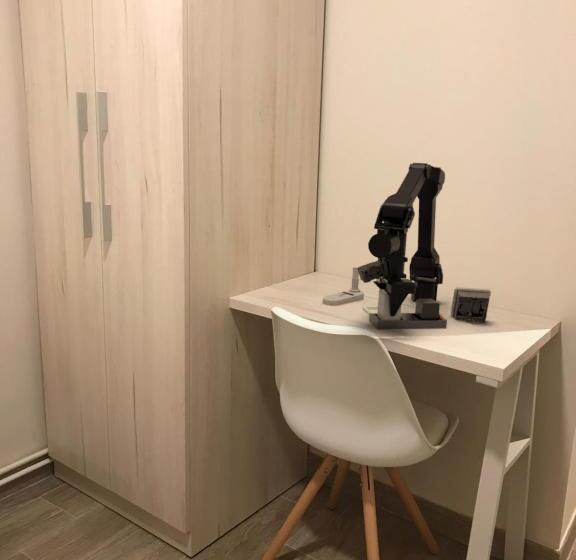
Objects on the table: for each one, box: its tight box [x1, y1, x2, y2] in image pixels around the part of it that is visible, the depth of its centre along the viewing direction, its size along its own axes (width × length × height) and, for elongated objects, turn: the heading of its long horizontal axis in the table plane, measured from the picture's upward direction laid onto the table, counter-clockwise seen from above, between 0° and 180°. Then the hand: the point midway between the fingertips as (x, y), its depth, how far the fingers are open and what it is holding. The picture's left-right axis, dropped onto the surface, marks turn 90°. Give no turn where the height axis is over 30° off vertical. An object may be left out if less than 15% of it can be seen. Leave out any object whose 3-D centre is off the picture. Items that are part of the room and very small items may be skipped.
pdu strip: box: [368, 299, 448, 330], centre depth 157 cm, size 18×7×7 cm, turn 99°
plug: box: [377, 289, 402, 321], centre depth 156 cm, size 4×4×8 cm
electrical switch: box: [450, 286, 492, 324], centre depth 163 cm, size 9×5×9 cm, turn 84°
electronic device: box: [322, 267, 365, 307], centre depth 178 cm, size 5×10×15 cm
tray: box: [361, 305, 403, 316], centre depth 167 cm, size 9×8×1 cm
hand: (389, 313), depth 156 cm, fingers open, 5 cm apart
